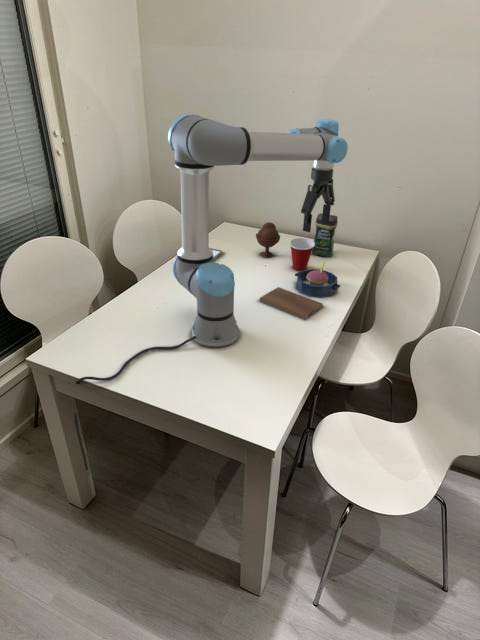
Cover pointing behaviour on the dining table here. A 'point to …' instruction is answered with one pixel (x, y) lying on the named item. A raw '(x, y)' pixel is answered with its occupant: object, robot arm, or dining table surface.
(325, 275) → the cupcake
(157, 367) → the dining table surface
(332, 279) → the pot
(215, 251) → the smartphone
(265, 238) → the ice cream bowl
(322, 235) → the coffee jar
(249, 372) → the dining table surface
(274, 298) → the cutting board
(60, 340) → the dining table surface
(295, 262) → the plastic cup
